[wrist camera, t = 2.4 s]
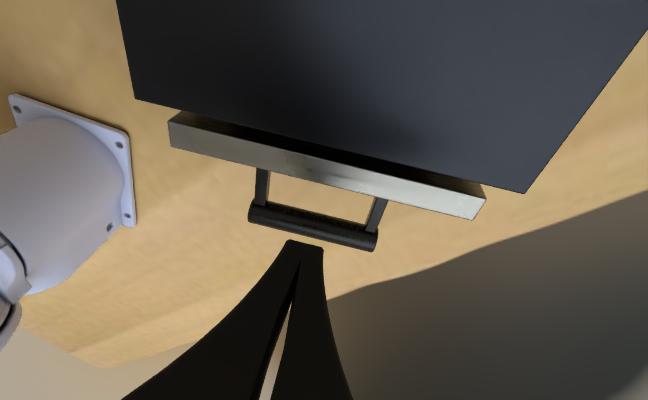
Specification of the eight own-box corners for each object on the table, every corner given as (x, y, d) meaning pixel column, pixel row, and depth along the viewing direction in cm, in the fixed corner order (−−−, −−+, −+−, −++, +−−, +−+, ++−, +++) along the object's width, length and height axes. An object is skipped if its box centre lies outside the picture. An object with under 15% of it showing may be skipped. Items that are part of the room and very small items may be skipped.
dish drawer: (416, 212, 21) (427, 290, 16) (229, 166, 21) (181, 230, 16) (655, -270, 9) (986, -553, 4) (229, -372, 9) (46, -774, 4)
